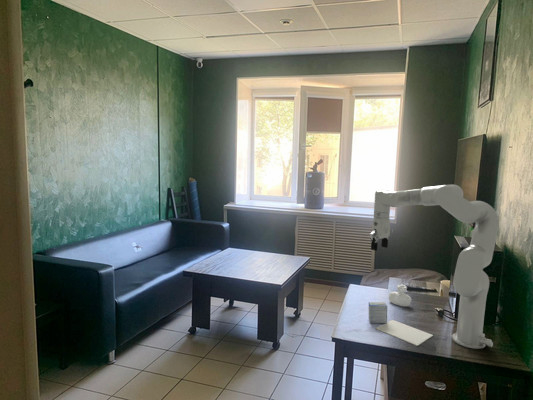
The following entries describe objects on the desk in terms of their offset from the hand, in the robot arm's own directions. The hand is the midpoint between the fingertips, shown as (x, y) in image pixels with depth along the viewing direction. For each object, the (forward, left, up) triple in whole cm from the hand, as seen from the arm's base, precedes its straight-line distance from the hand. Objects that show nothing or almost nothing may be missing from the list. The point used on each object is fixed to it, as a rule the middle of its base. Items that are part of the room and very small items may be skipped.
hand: (379, 248), depth 190 cm
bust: (-5, -15, -31) cm, 35 cm away
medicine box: (-10, +14, -31) cm, 36 cm away
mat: (-23, +14, -31) cm, 41 cm away
